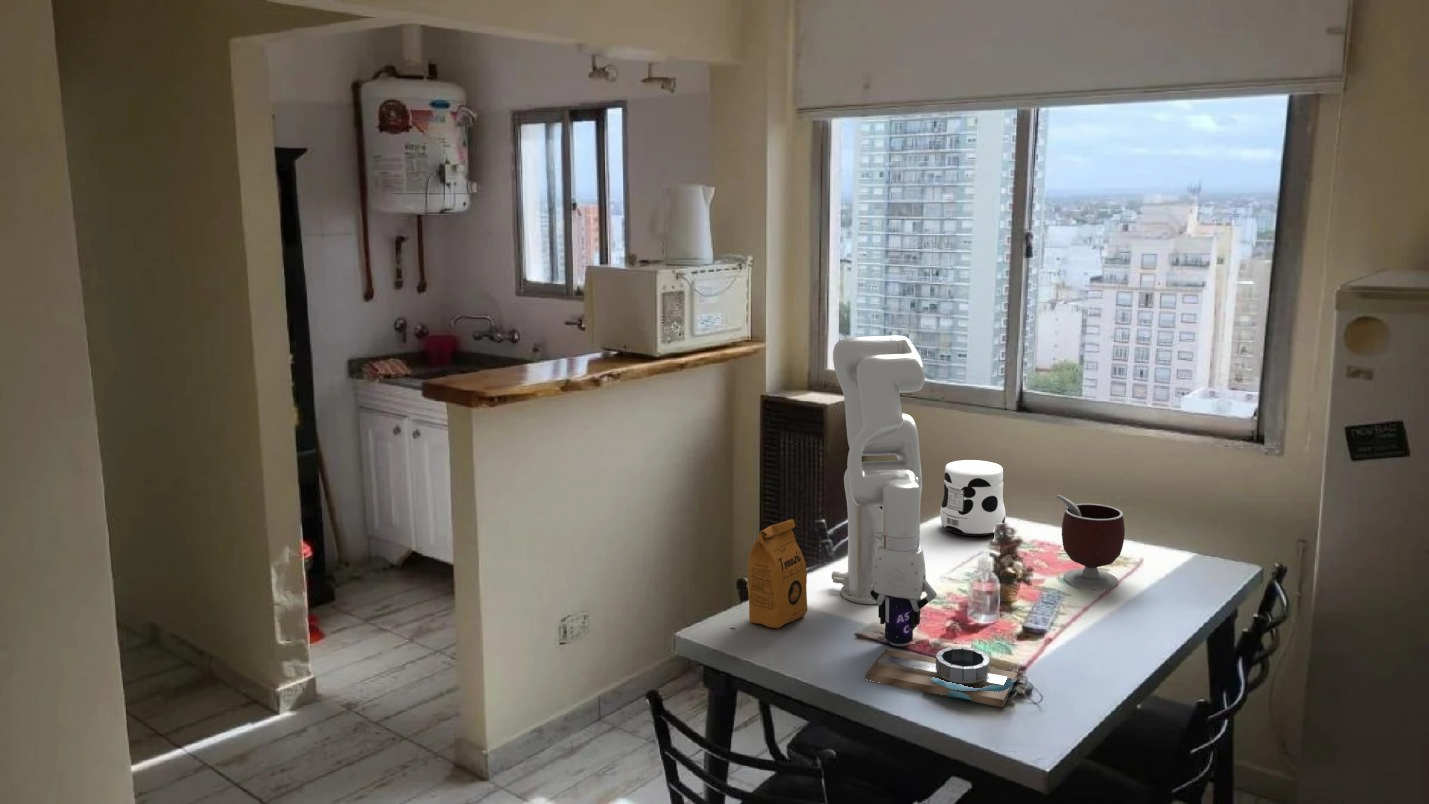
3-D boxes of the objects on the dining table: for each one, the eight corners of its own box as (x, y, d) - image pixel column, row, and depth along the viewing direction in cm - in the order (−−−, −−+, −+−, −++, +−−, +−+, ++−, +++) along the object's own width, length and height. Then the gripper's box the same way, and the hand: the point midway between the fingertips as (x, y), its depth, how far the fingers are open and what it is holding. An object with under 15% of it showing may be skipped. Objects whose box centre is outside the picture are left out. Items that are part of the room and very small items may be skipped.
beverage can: (896, 650, 215) (897, 594, 212) (879, 639, 220) (880, 585, 217) (918, 644, 217) (919, 589, 215) (901, 633, 222) (902, 579, 220)
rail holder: (872, 671, 203) (873, 652, 202) (888, 652, 211) (888, 633, 210) (999, 695, 192) (1000, 675, 191) (1010, 674, 200) (1011, 655, 200)
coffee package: (814, 617, 233) (814, 522, 229) (776, 634, 224) (775, 535, 220) (781, 606, 240) (780, 512, 236) (742, 622, 231) (741, 525, 227)
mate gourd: (1127, 576, 253) (1131, 496, 249) (1114, 595, 242) (1118, 511, 238) (1061, 565, 261) (1064, 487, 258) (1045, 583, 250) (1049, 502, 246)
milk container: (1004, 522, 296) (1006, 460, 293) (1005, 542, 280) (1008, 476, 276) (940, 519, 300) (942, 458, 297) (939, 538, 284) (940, 473, 280)
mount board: (865, 680, 203) (865, 673, 202) (885, 656, 213) (885, 648, 213) (1003, 707, 191) (1003, 699, 190) (1017, 680, 201) (1017, 672, 201)
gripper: (853, 540, 214) (853, 624, 218) (937, 553, 207) (935, 639, 210) (866, 529, 221) (865, 610, 225) (947, 541, 213) (945, 624, 217)
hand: (899, 623), depth 217 cm, fingers closed on beverage can, 5 cm apart
